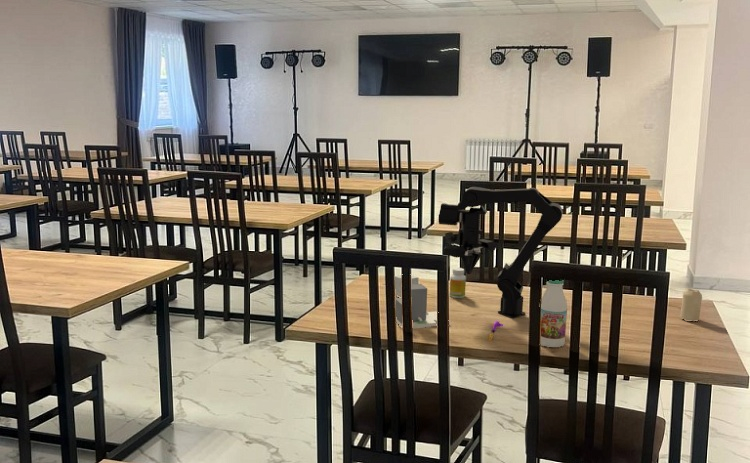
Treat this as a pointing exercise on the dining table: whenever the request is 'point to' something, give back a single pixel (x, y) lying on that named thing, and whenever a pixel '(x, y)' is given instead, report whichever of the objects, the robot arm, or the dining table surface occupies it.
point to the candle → (691, 305)
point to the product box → (398, 283)
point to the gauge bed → (430, 321)
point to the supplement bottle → (457, 283)
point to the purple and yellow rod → (494, 329)
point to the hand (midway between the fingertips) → (468, 273)
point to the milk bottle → (553, 315)
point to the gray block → (419, 302)
